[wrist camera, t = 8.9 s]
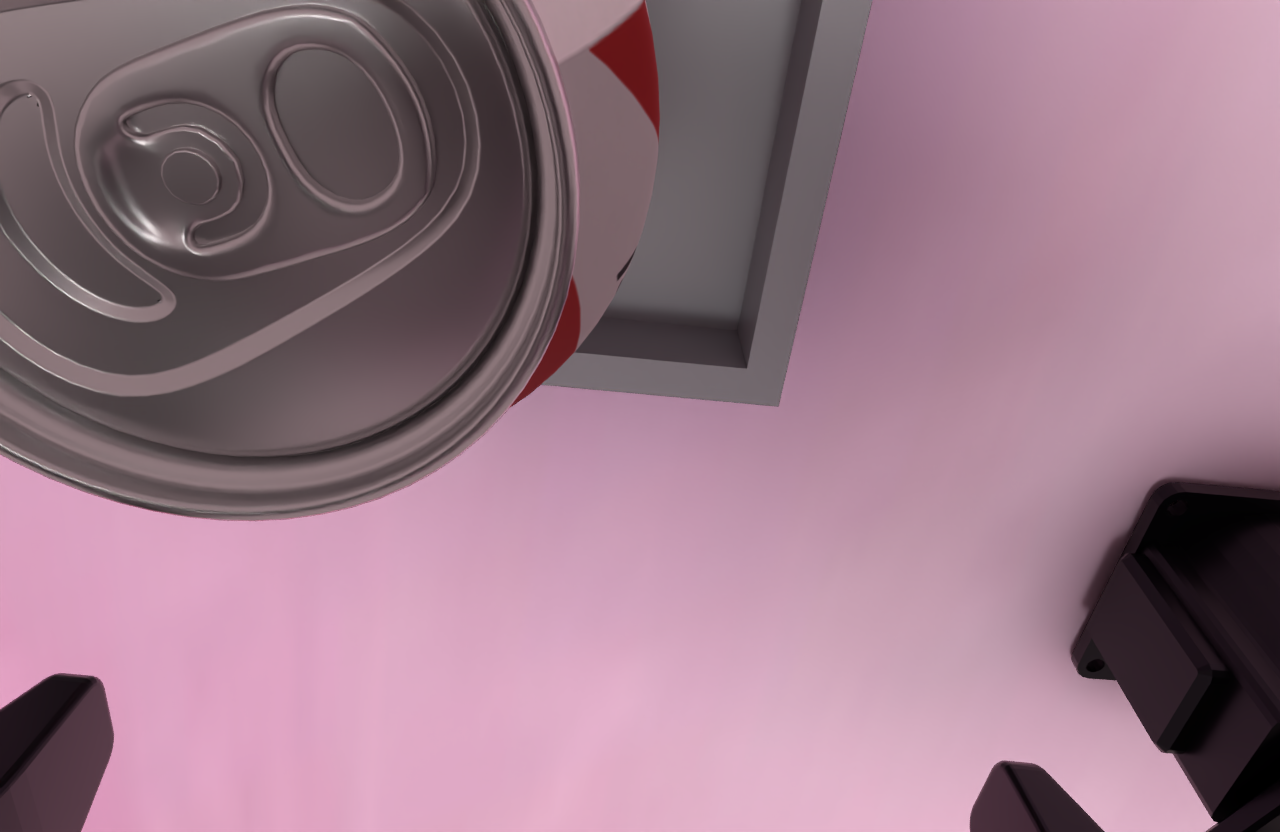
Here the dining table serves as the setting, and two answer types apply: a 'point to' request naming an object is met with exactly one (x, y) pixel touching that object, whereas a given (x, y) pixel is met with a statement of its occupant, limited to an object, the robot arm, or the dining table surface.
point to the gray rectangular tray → (728, 199)
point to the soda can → (304, 234)
